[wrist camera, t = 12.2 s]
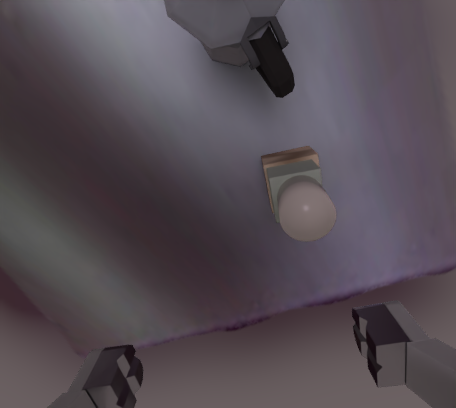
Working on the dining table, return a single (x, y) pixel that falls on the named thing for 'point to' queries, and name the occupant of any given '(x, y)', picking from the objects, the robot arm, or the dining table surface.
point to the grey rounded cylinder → (305, 209)
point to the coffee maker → (239, 35)
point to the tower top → (286, 171)
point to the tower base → (287, 161)
